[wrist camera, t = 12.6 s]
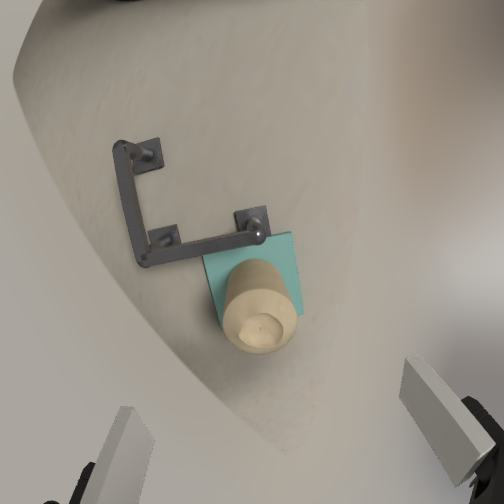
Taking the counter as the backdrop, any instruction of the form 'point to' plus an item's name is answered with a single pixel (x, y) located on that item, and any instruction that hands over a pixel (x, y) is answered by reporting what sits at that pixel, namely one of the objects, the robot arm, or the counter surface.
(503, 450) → the robot arm
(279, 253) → the pad
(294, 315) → the candle
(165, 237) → the handrail
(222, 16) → the counter surface
